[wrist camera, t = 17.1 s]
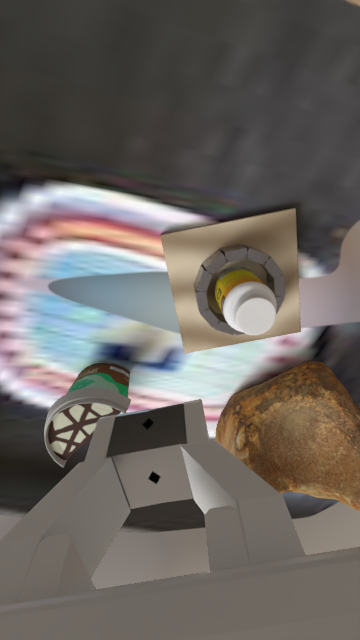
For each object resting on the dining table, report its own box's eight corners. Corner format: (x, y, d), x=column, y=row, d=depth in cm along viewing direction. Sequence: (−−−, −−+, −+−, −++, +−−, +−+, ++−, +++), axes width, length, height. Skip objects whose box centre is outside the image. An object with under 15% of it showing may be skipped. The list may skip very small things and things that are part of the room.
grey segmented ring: (188, 254, 37) (189, 259, 34) (273, 237, 36) (282, 241, 34) (201, 331, 41) (204, 341, 38) (278, 316, 40) (287, 325, 38)
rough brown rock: (369, 340, 45) (459, 395, 30) (356, 436, 50) (427, 521, 35) (211, 348, 45) (225, 406, 31) (213, 442, 50) (227, 529, 36)
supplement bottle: (206, 275, 38) (219, 302, 28) (248, 258, 37) (276, 279, 28) (221, 314, 40) (238, 351, 30) (261, 298, 39) (291, 330, 30)
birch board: (160, 234, 37) (160, 235, 36) (291, 208, 36) (295, 208, 35) (184, 349, 43) (185, 353, 42) (297, 328, 42) (300, 331, 41)
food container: (104, 338, 42) (86, 378, 33) (136, 365, 44) (128, 411, 34) (48, 392, 45) (17, 443, 35) (81, 415, 47) (60, 470, 37)
